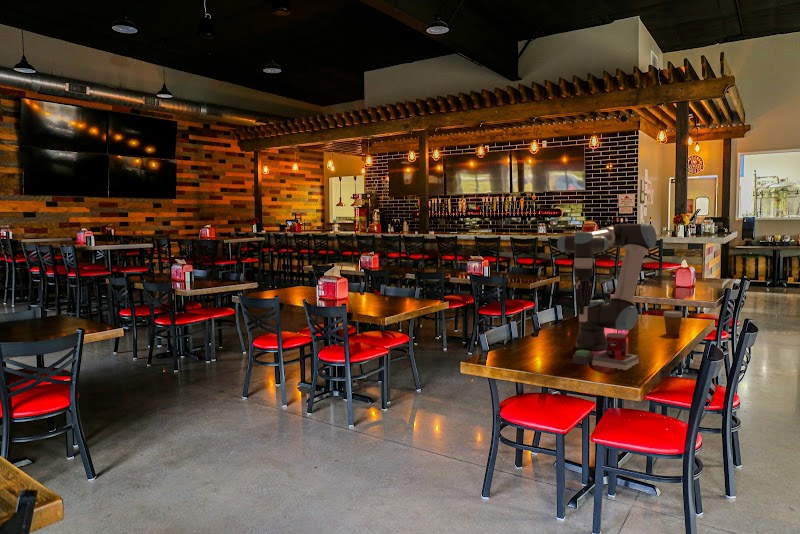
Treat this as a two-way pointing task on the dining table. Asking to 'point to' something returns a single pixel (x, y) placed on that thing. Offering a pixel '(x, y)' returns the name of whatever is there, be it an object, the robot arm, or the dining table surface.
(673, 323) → the disposable coffee cup
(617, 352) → the canned food
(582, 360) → the button base
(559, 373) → the dining table surface
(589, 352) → the button
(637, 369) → the dining table surface
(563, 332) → the dining table surface
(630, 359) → the pocket plate
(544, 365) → the dining table surface
